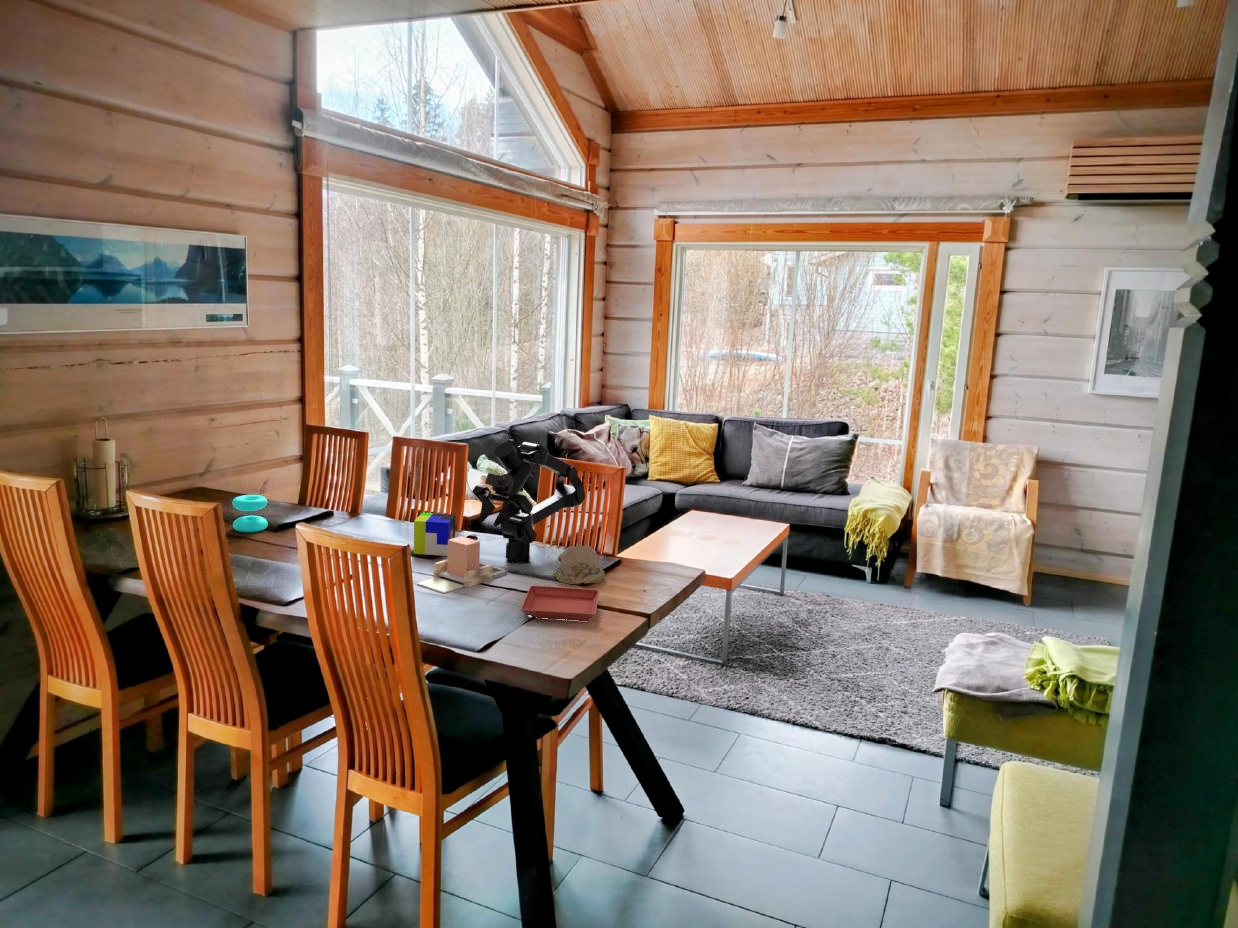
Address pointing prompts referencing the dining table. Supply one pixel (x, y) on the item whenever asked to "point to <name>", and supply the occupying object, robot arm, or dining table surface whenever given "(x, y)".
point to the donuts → (250, 521)
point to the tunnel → (467, 573)
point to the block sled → (461, 558)
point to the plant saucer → (560, 603)
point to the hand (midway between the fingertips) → (487, 523)
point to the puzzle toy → (433, 533)
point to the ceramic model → (579, 566)
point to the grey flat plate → (495, 570)
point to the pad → (440, 585)
